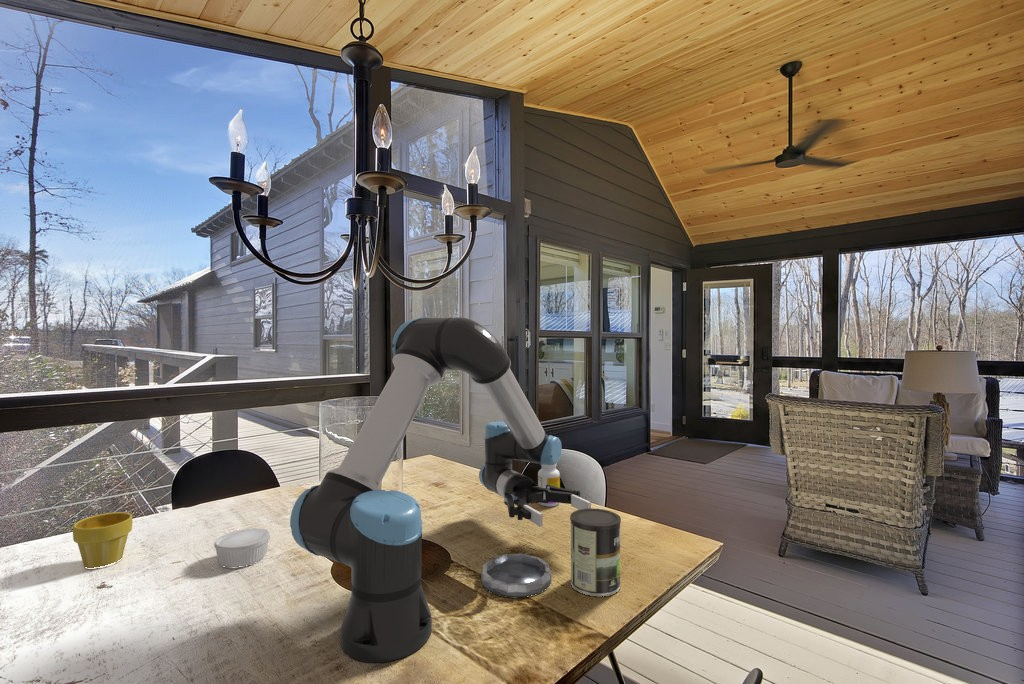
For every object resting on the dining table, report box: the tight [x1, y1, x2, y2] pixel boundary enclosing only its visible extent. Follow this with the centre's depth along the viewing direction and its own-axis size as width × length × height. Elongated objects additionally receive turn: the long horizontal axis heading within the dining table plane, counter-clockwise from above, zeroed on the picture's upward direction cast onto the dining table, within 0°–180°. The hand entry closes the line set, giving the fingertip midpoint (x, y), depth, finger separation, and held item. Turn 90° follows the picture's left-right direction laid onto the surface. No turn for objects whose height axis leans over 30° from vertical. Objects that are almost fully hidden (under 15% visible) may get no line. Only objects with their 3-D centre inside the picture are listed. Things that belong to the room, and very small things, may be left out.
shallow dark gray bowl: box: [480, 553, 552, 598], centre depth 104 cm, size 15×15×2 cm
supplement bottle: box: [537, 462, 561, 508], centre depth 151 cm, size 7×7×13 cm
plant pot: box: [72, 511, 133, 568], centre depth 111 cm, size 10×10×10 cm
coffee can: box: [569, 507, 622, 598], centre depth 102 cm, size 10×10×14 cm
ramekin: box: [213, 527, 271, 568], centre depth 113 cm, size 11×11×5 cm
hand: (566, 514), depth 111 cm, fingers open, 13 cm apart
